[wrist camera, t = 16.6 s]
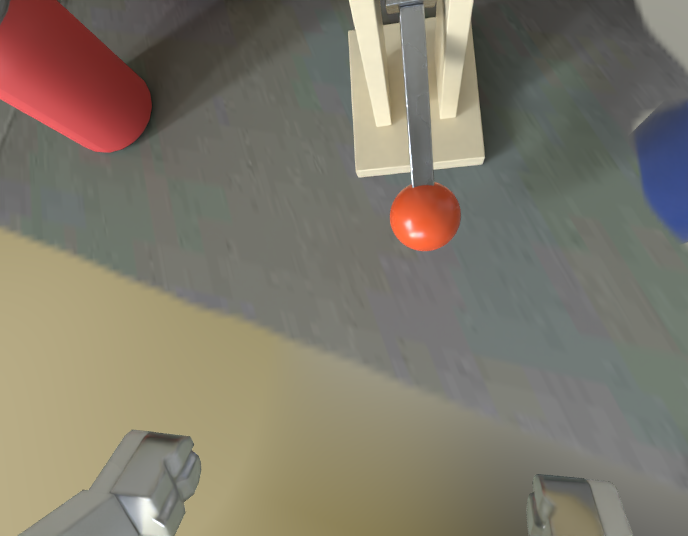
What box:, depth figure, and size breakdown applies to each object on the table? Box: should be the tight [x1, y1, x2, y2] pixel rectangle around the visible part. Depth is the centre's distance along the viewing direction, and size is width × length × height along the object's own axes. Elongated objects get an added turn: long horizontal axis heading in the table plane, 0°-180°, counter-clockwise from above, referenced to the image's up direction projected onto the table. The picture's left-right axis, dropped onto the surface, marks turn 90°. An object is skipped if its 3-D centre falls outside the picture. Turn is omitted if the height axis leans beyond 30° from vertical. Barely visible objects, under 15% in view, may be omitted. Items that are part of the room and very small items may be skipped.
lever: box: [385, 0, 461, 251], centre depth 22 cm, size 14×4×4 cm, turn 2°
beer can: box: [0, 0, 152, 152], centre depth 28 cm, size 7×7×12 cm
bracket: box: [348, 0, 485, 177], centre depth 24 cm, size 10×8×13 cm
